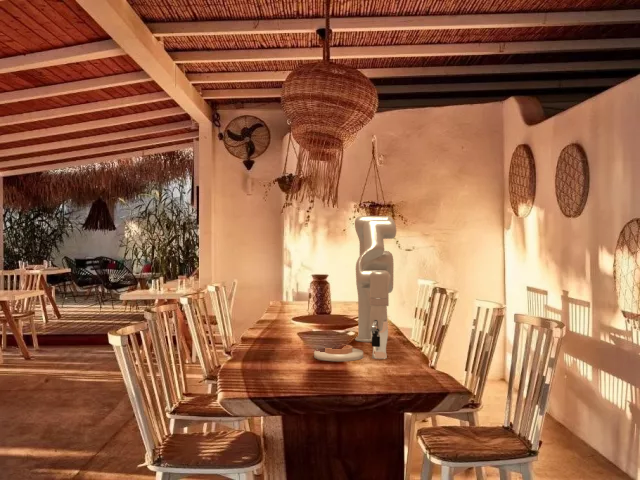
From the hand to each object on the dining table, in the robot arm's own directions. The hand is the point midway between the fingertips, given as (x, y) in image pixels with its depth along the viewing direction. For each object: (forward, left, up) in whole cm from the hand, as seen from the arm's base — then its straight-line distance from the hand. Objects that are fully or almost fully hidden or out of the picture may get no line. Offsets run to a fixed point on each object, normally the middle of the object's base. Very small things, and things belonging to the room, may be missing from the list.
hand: (379, 344), depth 244 cm
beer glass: (0, 0, -6) cm, 6 cm away
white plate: (+14, -9, -5) cm, 17 cm away
